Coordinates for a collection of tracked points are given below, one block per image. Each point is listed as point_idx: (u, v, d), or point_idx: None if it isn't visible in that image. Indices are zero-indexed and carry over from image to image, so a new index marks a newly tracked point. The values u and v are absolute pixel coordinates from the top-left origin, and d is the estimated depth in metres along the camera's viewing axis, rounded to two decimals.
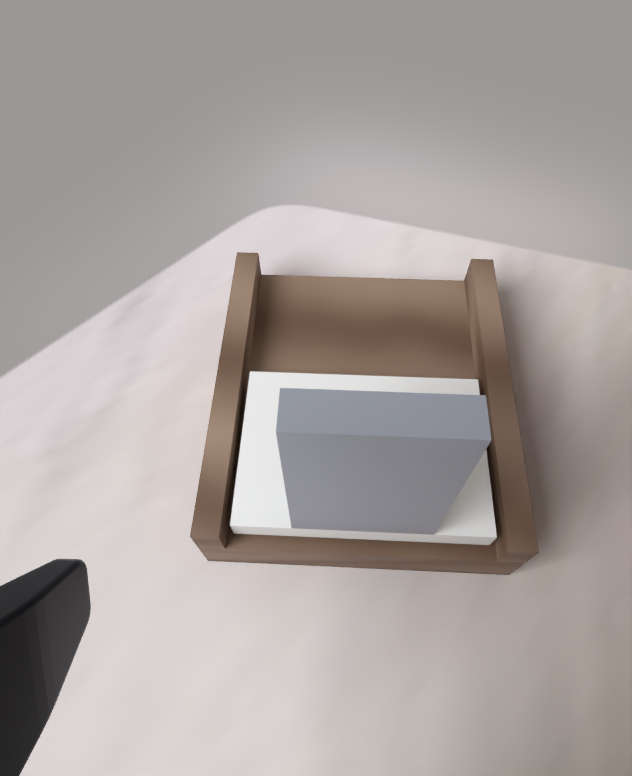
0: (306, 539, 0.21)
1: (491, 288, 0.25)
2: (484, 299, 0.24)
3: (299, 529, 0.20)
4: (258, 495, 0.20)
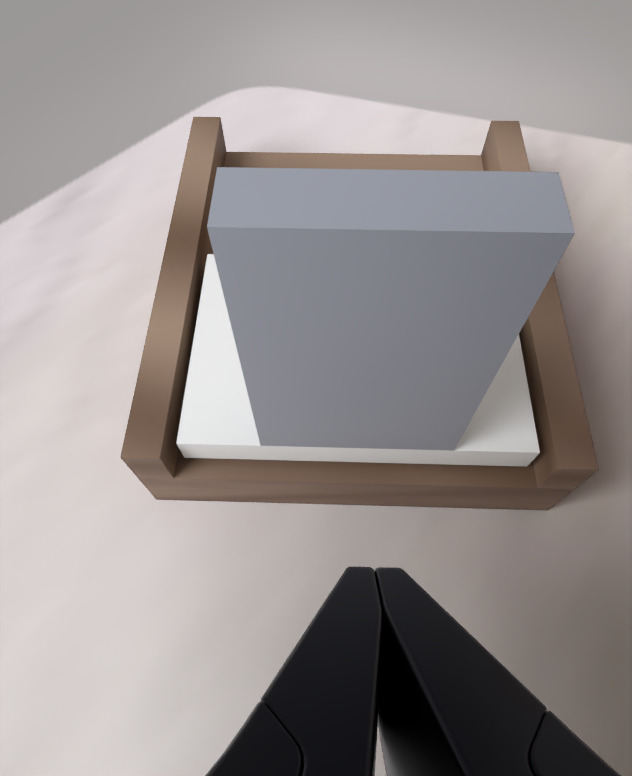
0: (282, 464, 0.15)
1: (518, 153, 0.19)
2: (510, 165, 0.19)
3: (271, 448, 0.14)
4: (216, 404, 0.15)
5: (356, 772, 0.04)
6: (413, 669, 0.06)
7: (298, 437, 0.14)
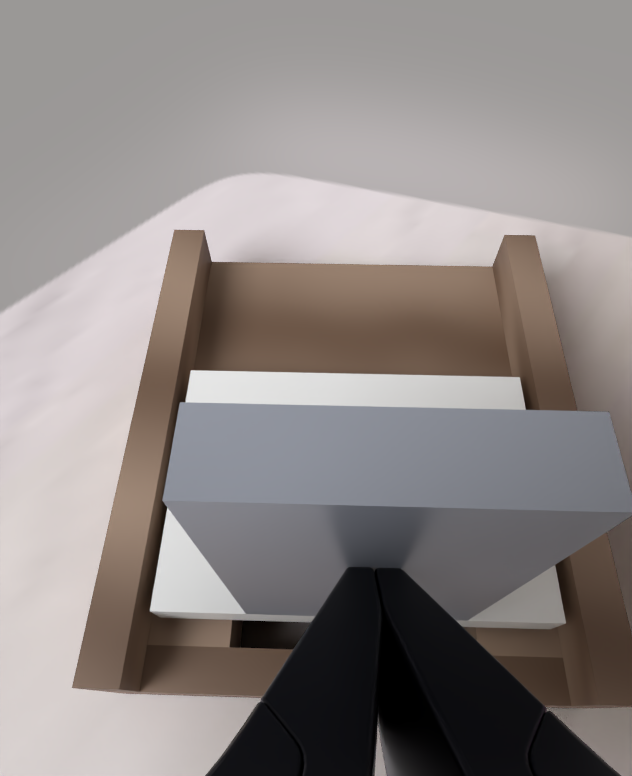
0: (268, 672, 0.13)
1: (536, 275, 0.17)
2: (528, 290, 0.17)
3: (258, 615, 0.13)
4: (196, 559, 0.13)
5: (356, 773, 0.04)
6: (413, 669, 0.06)
7: (289, 611, 0.12)
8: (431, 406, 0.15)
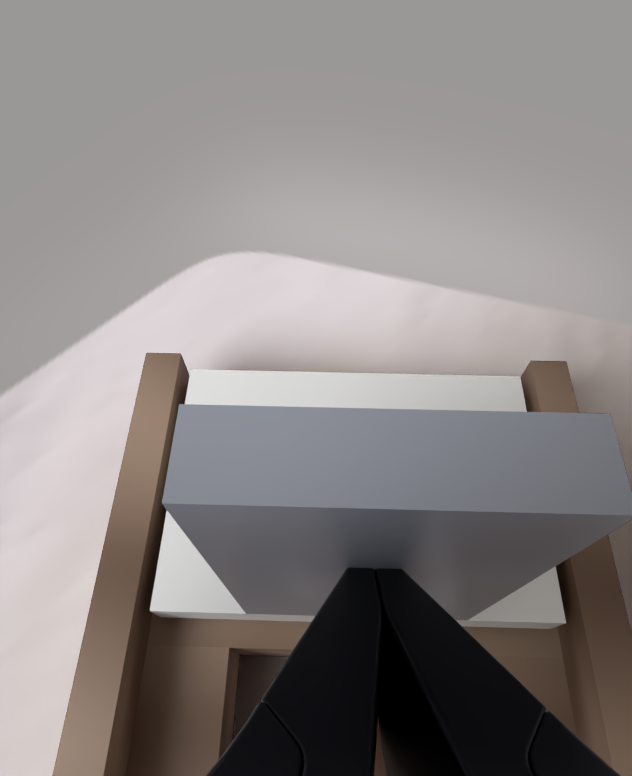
0: None
1: None
2: None
3: (259, 615, 0.13)
4: (196, 559, 0.13)
5: (356, 772, 0.04)
6: (413, 669, 0.06)
7: (289, 611, 0.12)
8: (431, 405, 0.15)
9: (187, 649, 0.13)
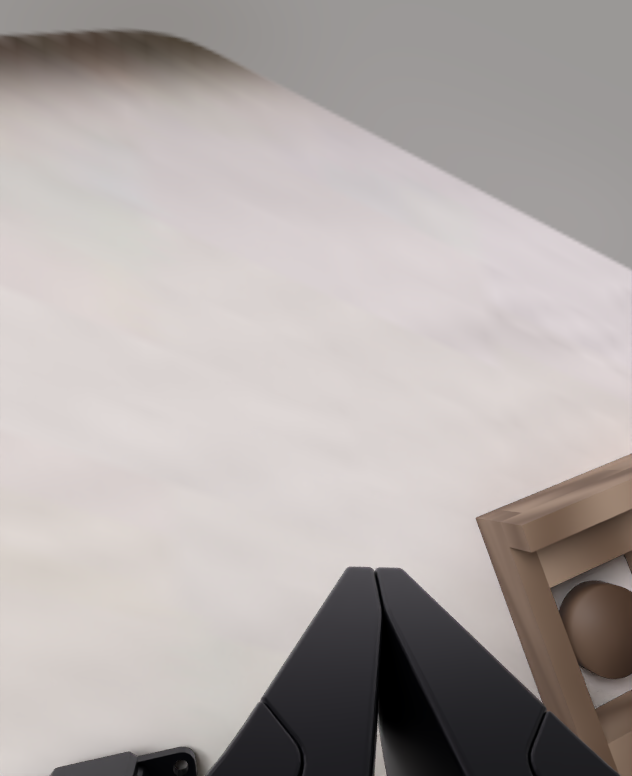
0: (548, 618, 0.21)
1: None
2: None
3: None
4: None
5: (355, 772, 0.04)
6: (413, 669, 0.06)
7: None
8: None
9: None
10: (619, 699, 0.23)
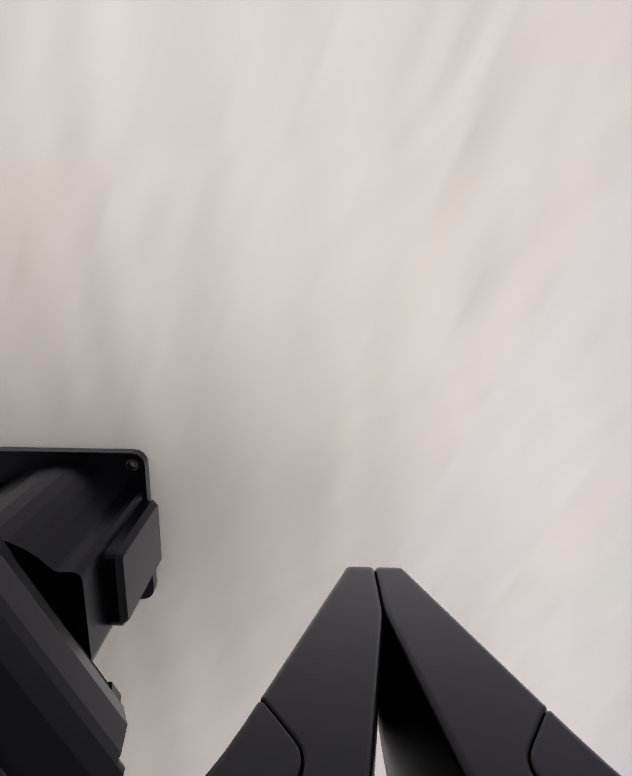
0: None
1: None
2: None
3: None
4: None
5: (356, 773, 0.04)
6: (413, 669, 0.06)
7: None
8: None
9: None
10: None
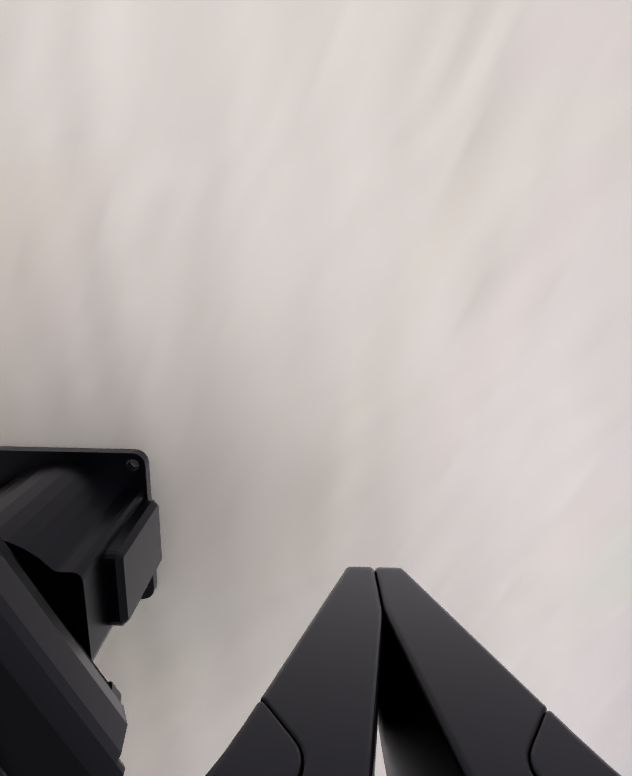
0: None
1: None
2: None
3: None
4: None
5: (356, 772, 0.04)
6: (413, 669, 0.06)
7: None
8: None
9: None
10: None
